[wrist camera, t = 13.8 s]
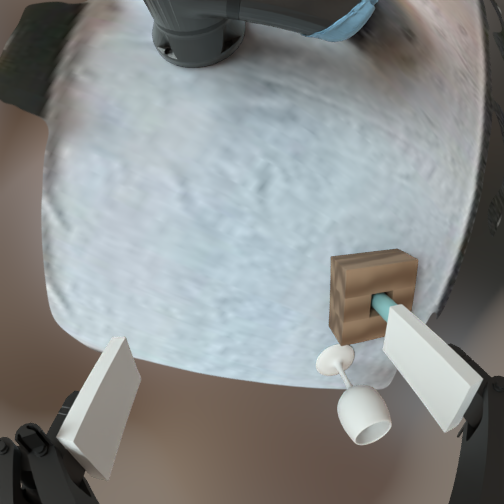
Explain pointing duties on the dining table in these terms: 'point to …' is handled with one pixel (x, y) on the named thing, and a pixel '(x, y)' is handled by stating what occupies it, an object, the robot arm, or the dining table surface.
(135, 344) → the dining table surface
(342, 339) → the socket block
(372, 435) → the wineglass
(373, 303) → the dowel
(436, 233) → the dining table surface
